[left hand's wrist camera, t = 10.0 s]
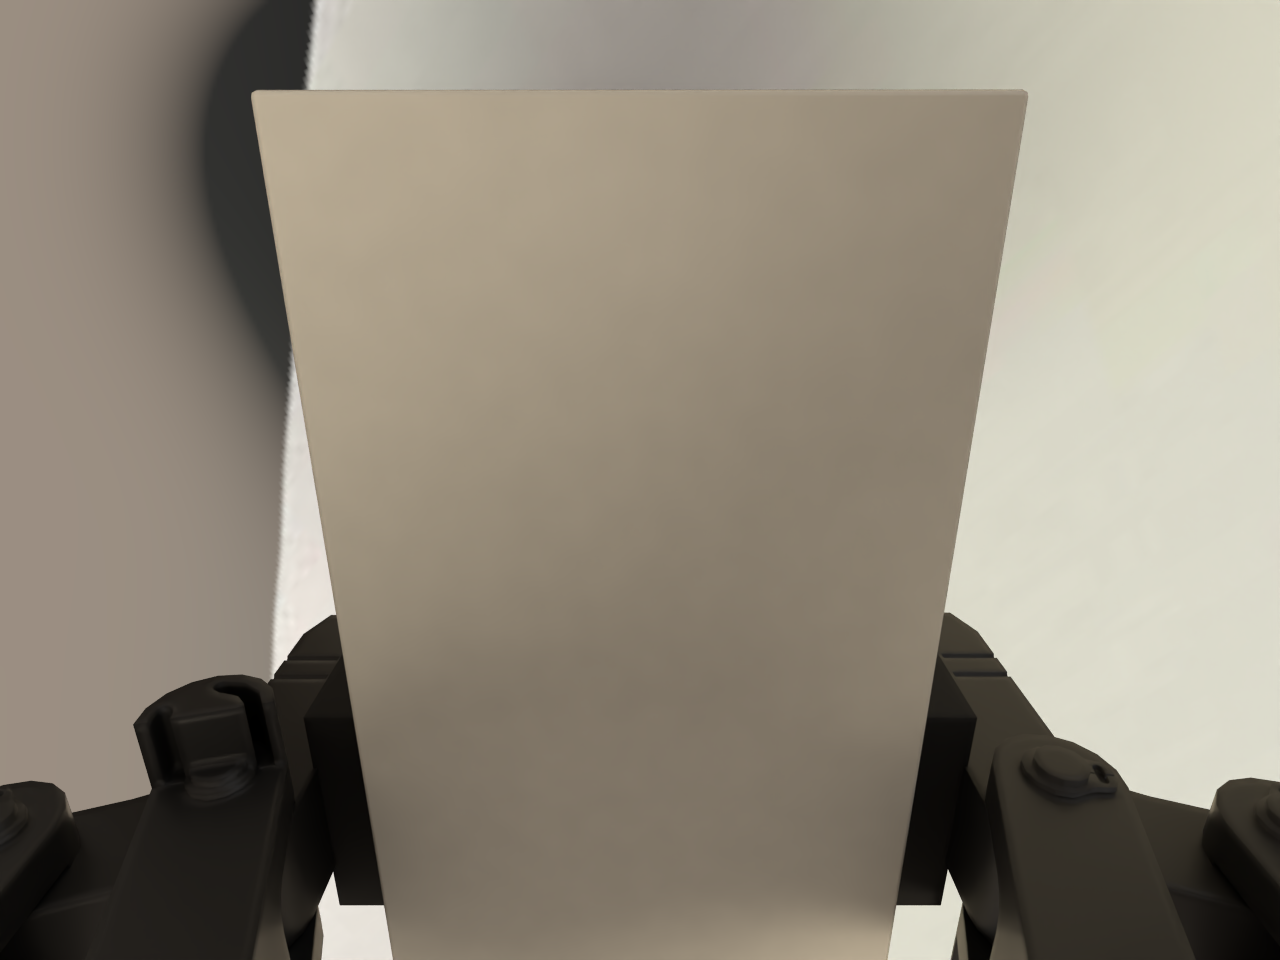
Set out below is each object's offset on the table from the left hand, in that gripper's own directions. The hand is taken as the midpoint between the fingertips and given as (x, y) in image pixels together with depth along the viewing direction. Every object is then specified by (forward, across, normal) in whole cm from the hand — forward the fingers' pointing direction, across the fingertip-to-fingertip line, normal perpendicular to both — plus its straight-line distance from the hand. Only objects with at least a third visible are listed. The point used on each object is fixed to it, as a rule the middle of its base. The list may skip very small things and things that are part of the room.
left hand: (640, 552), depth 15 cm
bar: (+1, 0, -27) cm, 27 cm away
